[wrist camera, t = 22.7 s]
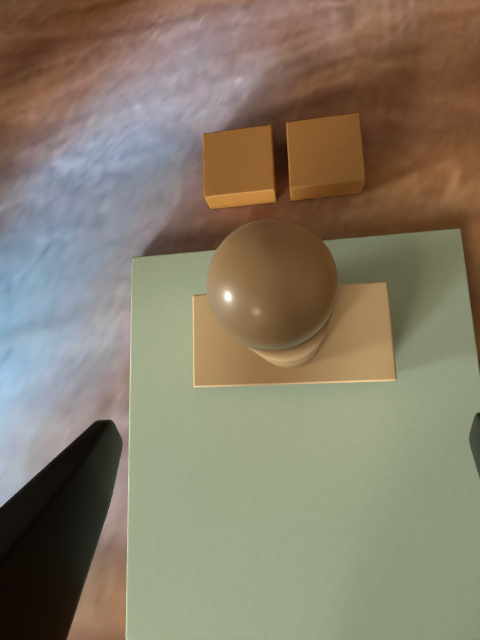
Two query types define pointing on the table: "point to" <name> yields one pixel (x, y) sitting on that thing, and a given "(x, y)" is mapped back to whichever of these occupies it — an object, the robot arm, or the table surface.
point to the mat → (307, 469)
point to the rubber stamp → (287, 314)
